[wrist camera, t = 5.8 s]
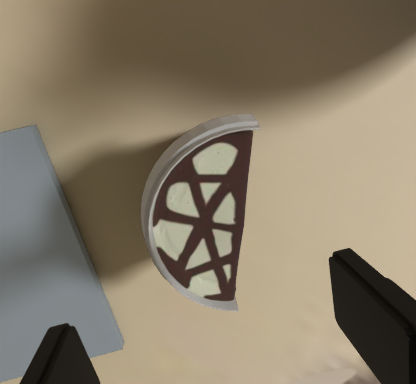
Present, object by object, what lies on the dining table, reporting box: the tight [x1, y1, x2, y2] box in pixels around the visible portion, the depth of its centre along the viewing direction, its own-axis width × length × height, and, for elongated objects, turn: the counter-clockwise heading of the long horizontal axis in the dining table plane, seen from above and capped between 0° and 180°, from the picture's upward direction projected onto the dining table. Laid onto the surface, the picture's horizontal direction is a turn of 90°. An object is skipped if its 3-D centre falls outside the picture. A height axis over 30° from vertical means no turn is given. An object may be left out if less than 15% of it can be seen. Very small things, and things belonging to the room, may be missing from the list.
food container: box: [140, 114, 261, 311], centre depth 22 cm, size 12×6×10 cm, turn 176°
